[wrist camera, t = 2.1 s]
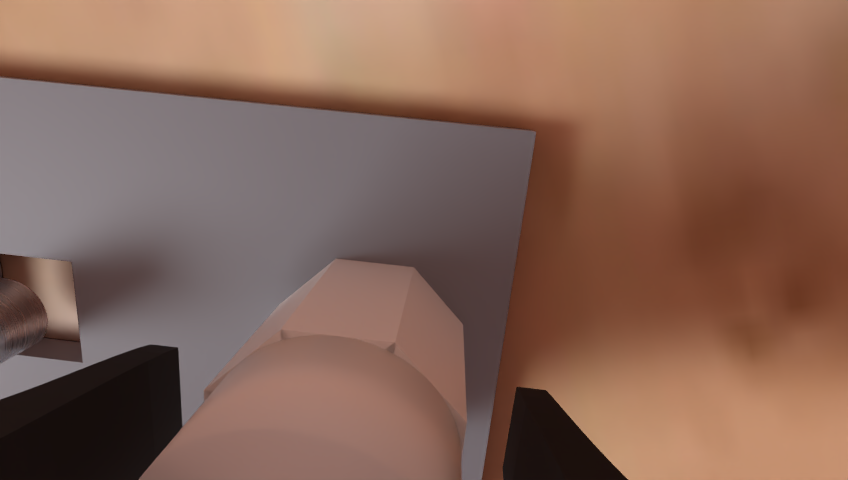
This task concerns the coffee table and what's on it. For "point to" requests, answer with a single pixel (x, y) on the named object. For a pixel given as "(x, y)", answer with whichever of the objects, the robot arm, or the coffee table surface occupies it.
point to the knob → (335, 388)
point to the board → (249, 221)
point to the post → (19, 318)
